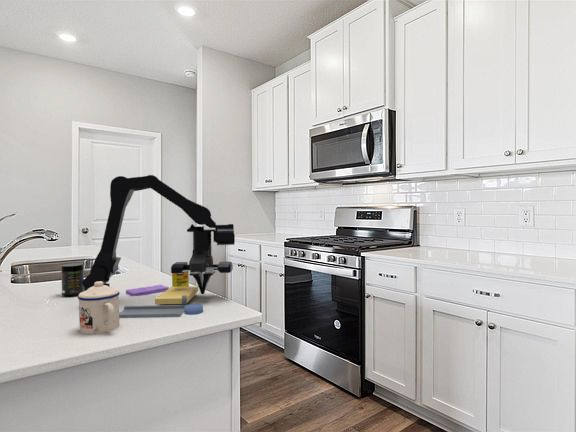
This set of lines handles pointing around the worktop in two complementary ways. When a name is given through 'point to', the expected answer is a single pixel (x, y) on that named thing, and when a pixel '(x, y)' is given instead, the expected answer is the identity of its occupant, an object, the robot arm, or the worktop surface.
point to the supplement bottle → (180, 279)
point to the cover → (177, 295)
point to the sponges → (146, 290)
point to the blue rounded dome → (193, 309)
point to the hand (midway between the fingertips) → (202, 293)
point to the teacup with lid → (98, 309)
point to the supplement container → (72, 279)
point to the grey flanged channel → (152, 311)
